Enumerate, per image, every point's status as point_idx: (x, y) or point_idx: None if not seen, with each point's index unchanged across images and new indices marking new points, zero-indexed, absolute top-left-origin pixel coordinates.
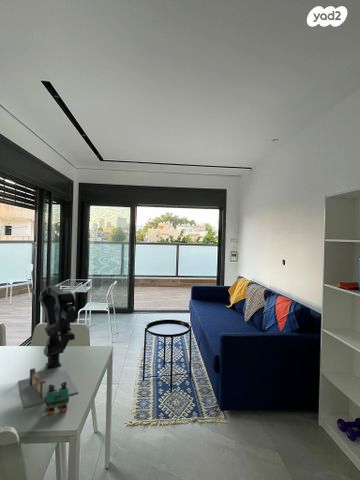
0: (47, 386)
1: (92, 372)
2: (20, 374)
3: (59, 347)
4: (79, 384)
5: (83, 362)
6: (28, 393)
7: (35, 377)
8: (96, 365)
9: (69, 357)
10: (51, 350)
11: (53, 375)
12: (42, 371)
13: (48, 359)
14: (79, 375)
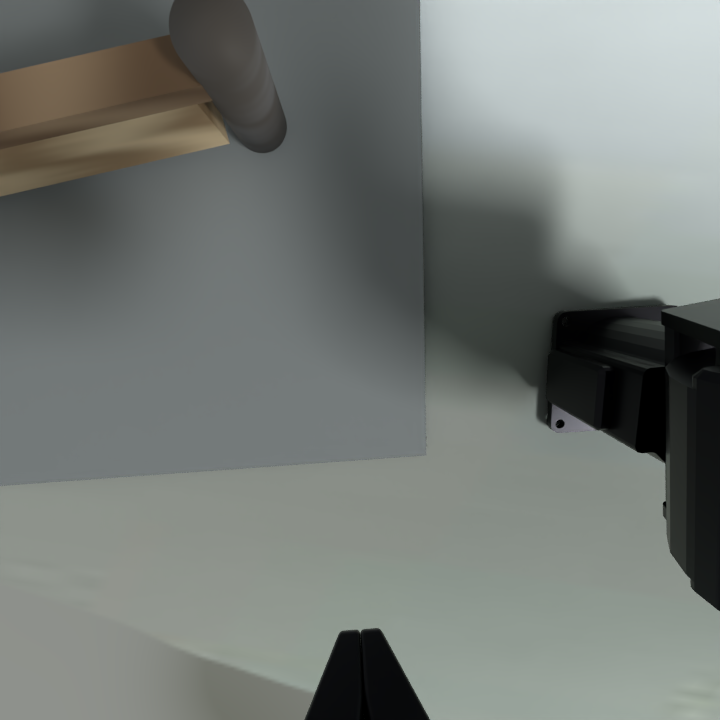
0: (158, 263)
1: (289, 628)
2: (586, 35)
3: (700, 536)
4: (119, 512)
5: (513, 599)
6: None
7: (9, 75)
8: None
9: None
10: (684, 394)
11: (364, 341)
12: (530, 257)
13: (654, 330)
14: (283, 536)
